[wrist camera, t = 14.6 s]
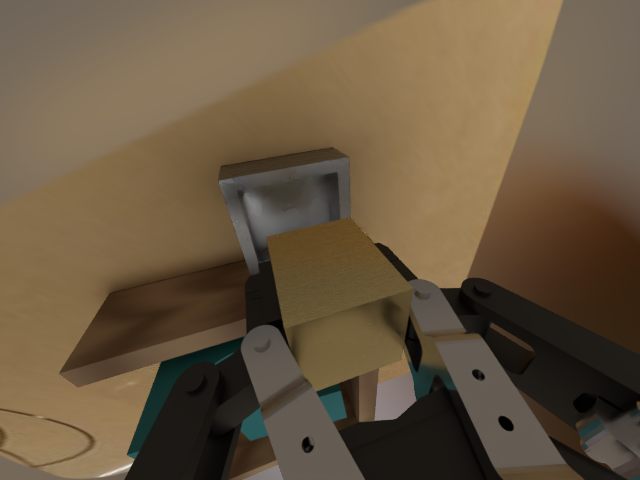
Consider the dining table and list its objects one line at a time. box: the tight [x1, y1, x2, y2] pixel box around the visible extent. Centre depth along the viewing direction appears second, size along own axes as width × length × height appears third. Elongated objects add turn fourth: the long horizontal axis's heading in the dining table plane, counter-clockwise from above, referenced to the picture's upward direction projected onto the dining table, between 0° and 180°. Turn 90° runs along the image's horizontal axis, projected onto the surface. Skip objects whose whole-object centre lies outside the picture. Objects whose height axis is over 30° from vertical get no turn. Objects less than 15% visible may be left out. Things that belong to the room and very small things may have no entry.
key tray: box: [218, 147, 351, 275], centre depth 17 cm, size 8×8×3 cm
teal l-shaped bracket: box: [127, 336, 347, 459], centre depth 21 cm, size 18×11×10 cm, turn 9°
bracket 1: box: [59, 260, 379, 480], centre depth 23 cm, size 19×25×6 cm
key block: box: [266, 217, 413, 391], centre depth 10 cm, size 4×4×5 cm
